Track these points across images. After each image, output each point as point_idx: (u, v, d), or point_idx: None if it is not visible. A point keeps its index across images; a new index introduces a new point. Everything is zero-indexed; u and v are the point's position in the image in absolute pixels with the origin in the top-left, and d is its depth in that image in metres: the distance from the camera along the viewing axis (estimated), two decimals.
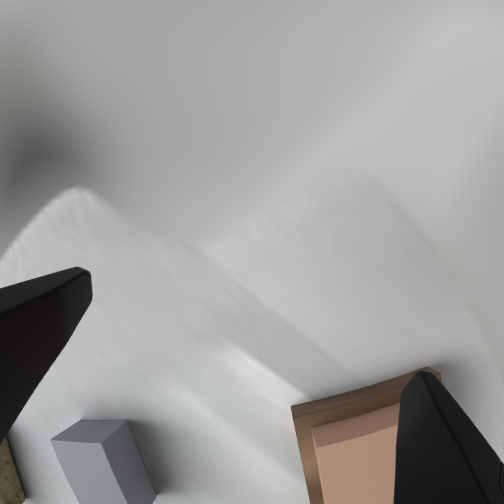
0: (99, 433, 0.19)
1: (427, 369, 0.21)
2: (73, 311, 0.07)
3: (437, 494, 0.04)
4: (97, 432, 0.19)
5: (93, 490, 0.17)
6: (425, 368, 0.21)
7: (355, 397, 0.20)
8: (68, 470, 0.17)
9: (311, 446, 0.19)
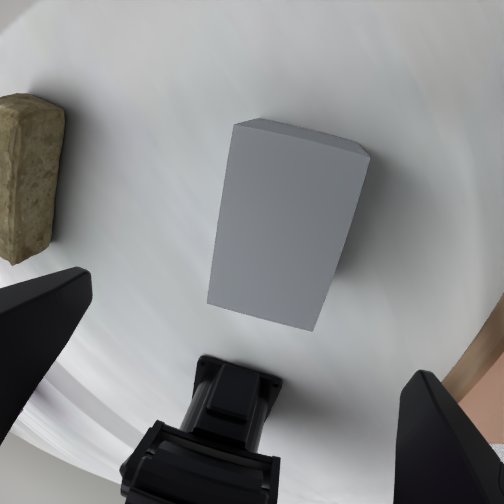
0: (336, 142, 0.12)
1: None
2: (73, 311, 0.07)
3: (437, 494, 0.04)
4: (328, 139, 0.12)
5: (272, 249, 0.13)
6: None
7: None
8: (237, 198, 0.12)
9: None
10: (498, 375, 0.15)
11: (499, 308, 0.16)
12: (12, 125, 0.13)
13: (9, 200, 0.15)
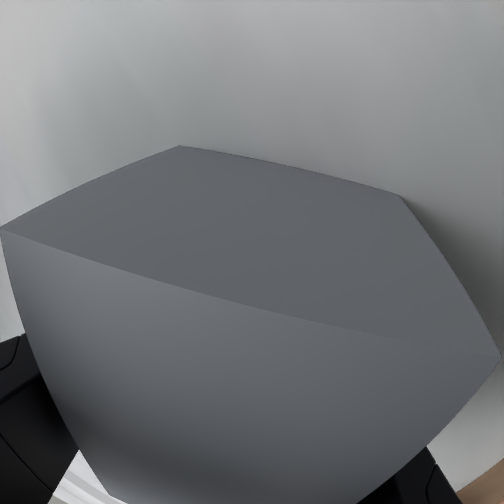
0: (368, 239, 0.04)
1: None
2: None
3: None
4: (343, 226, 0.04)
5: (189, 491, 0.04)
6: None
7: None
8: (80, 409, 0.04)
9: None
10: None
11: None
12: None
13: None
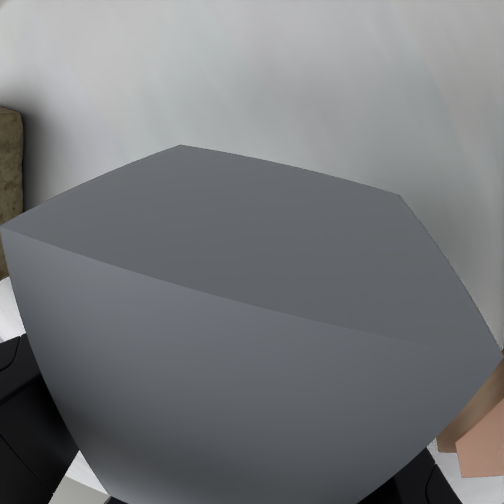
0: (370, 239, 0.04)
1: None
2: None
3: None
4: (344, 226, 0.04)
5: (189, 491, 0.04)
6: None
7: None
8: (80, 408, 0.04)
9: None
10: None
11: None
12: None
13: None
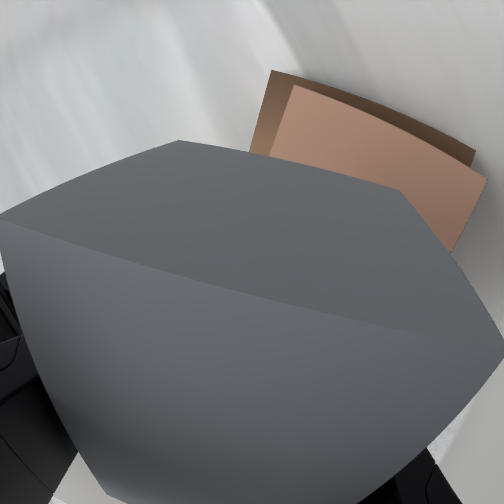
0: (370, 231, 0.04)
1: None
2: None
3: None
4: (344, 218, 0.04)
5: (187, 490, 0.04)
6: None
7: None
8: (76, 405, 0.04)
9: (274, 124, 0.15)
10: None
11: None
12: None
13: None
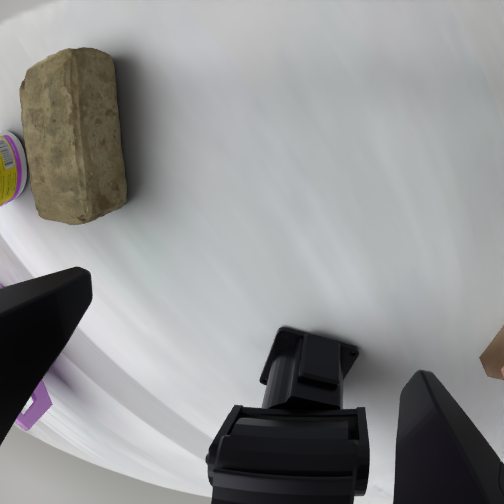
0: None
1: None
2: (73, 311, 0.07)
3: (437, 494, 0.04)
4: None
5: None
6: None
7: None
8: None
9: None
10: None
11: None
12: (65, 58, 0.13)
13: (74, 135, 0.15)
